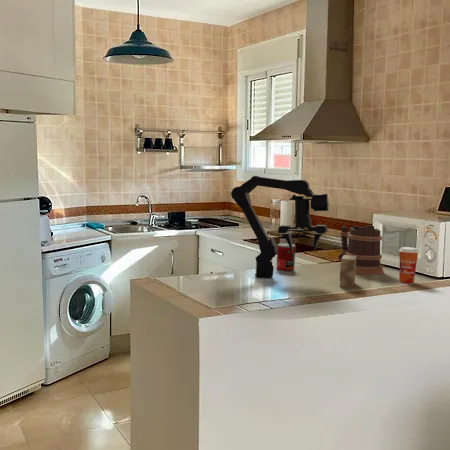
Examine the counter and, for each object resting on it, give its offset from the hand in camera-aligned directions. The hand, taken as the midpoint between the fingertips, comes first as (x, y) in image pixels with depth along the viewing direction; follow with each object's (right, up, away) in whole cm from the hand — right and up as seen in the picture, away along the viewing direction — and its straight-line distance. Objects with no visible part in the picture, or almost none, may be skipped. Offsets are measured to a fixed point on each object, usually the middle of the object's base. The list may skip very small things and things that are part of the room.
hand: (303, 250), depth 233 cm
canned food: (-5, -10, +24) cm, 26 cm away
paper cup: (+44, -13, +7) cm, 46 cm away
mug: (+29, -10, +30) cm, 43 cm away
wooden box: (+17, -13, -4) cm, 22 cm away
